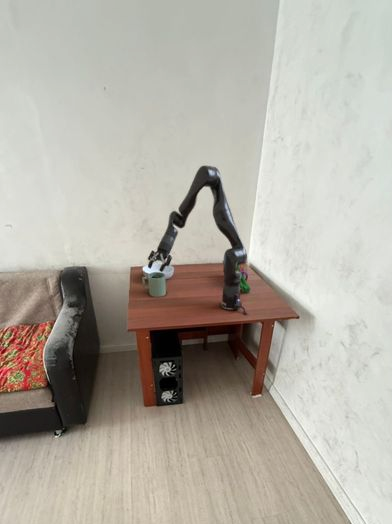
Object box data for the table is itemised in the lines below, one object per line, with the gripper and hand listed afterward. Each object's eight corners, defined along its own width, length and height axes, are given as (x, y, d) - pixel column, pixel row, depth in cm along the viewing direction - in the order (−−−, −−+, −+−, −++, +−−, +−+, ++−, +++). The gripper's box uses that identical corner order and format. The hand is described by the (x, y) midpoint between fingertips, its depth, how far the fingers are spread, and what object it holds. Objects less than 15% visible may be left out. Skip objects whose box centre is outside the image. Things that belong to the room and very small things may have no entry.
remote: (156, 290, 181) (154, 274, 175) (161, 292, 179) (160, 276, 173) (153, 291, 179) (151, 276, 173) (158, 293, 177) (157, 277, 171)
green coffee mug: (167, 290, 183) (166, 272, 176) (164, 297, 175) (163, 279, 168) (145, 288, 184) (144, 271, 177) (141, 295, 176) (139, 277, 169)
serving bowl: (178, 281, 194) (178, 271, 190) (148, 286, 187) (147, 276, 182) (167, 270, 209) (167, 261, 205) (139, 274, 202) (138, 265, 198)
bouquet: (233, 303, 185) (219, 275, 204) (257, 300, 188) (241, 273, 207) (239, 276, 170) (223, 249, 189) (265, 274, 174) (247, 248, 193)
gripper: (153, 238, 170) (142, 263, 169) (173, 243, 164) (161, 269, 163) (159, 245, 177) (148, 269, 175) (178, 250, 171) (167, 275, 169)
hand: (154, 269), depth 169 cm, fingers open, 8 cm apart
